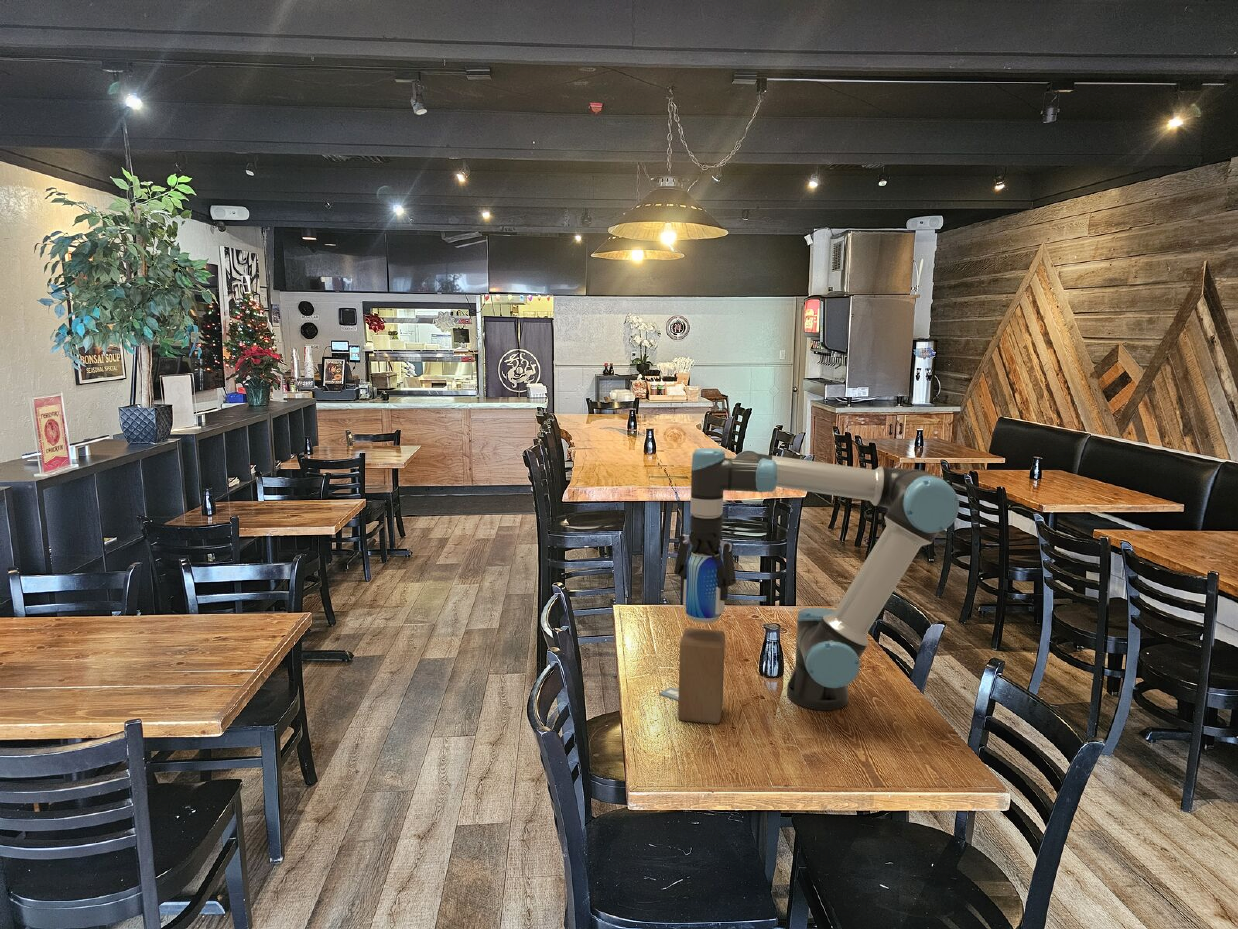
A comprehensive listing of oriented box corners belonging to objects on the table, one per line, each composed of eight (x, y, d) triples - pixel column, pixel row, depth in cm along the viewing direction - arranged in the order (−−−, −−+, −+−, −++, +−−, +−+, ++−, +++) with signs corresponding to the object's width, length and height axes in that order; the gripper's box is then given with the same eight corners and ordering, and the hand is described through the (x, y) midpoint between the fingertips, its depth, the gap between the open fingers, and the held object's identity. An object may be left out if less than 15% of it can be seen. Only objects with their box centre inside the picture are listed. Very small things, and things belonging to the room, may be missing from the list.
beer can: (701, 609, 190) (703, 546, 188) (728, 618, 184) (730, 553, 181) (678, 617, 184) (680, 551, 182) (705, 626, 178) (707, 559, 176)
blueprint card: (696, 696, 197) (696, 695, 197) (685, 703, 193) (685, 701, 193) (670, 688, 202) (670, 686, 202) (659, 694, 198) (659, 692, 198)
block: (719, 726, 181) (722, 644, 179) (677, 721, 183) (679, 640, 181) (722, 707, 191) (725, 629, 188) (682, 703, 193) (684, 626, 190)
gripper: (754, 518, 177) (750, 614, 180) (677, 506, 190) (675, 596, 193) (738, 524, 171) (734, 622, 174) (660, 511, 184) (658, 603, 187)
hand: (703, 608), depth 184 cm, fingers closed on beer can, 8 cm apart
